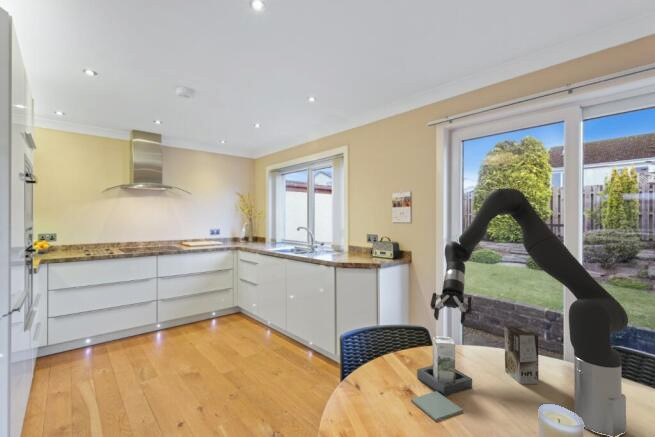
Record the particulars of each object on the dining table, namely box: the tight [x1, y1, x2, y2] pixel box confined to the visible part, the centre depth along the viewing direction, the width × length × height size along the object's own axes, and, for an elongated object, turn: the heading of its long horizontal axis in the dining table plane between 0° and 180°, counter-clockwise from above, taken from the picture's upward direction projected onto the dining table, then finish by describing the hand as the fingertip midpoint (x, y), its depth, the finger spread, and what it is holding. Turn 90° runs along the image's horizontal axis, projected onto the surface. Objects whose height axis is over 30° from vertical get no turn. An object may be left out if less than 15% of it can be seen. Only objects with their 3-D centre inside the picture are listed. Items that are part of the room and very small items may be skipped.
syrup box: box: [432, 336, 456, 383], centre depth 99 cm, size 6×6×14 cm
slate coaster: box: [410, 390, 464, 422], centre depth 87 cm, size 10×10×1 cm
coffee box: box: [503, 325, 540, 385], centre depth 103 cm, size 9×6×16 cm
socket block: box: [416, 364, 473, 398], centre depth 99 cm, size 12×12×3 cm
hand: (449, 321), depth 108 cm, fingers open, 8 cm apart
